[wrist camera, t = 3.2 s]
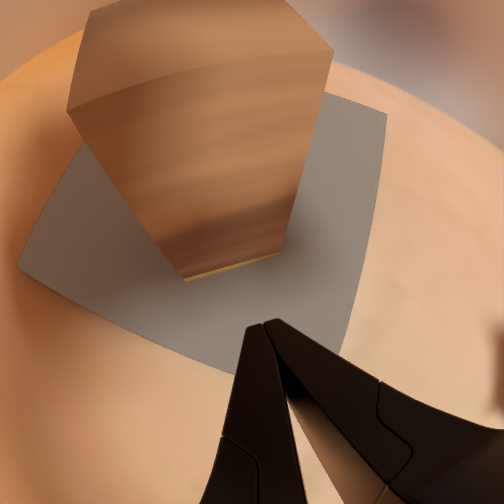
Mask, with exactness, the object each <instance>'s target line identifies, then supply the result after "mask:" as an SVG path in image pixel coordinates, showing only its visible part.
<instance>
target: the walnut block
mask: <svg viewBox="0 0 504 504" xmlns="http://www.w3.org/2000/svg"><path fill="white" fill-rule="evenodd" d="M333 53H334V50H333V49H332V48H331V47H330V46H329V45H328V44H327V42H326V41H325V40H324V39H323V38H322V37H321V36H320V35H319V34H318V33H317V32H316V31H315V30H314V29H313V28H312V27H311V26H310V25H309V24H308V23H307V22H306V21H305V20H304V19H303V18H302V17H301V16H300V15H299V14H298V13H297V12H296V11H295V10H294V9H293V8H292V7H291V6H290V5H289V4H288V3H287V2H286V1H285V0H121V1H118V2H116V3H112V4H110V5H107V6H104V7H101V8H99V9H96V10H93V11H91V12H90V15H89V18H88V21H87V24H86V27H85V31H84V34H83V38H82V41H81V45H80V49H79V52H78V56H77V61H76V65H75V69H74V74H73V78H72V83H71V88H70V94H69V99H68V105H67V113H68V114H69V116H70V118H71V119H72V121H73V122H74V124H75V126H76V127H77V129H78V131H79V132H80V134H81V135H82V137H83V139H84V140H85V142H86V143H87V145H88V146H89V148H90V150H91V151H92V153H93V154H94V156H95V157H96V159H97V160H98V162H99V163H100V165H101V166H102V168H103V169H104V171H105V172H106V174H107V175H108V177H109V178H110V180H111V181H112V183H113V184H114V186H115V187H116V189H117V190H118V191H119V193H120V194H121V196H122V197H123V199H124V200H125V202H126V203H127V204H128V206H129V207H130V209H131V210H132V211H133V213H134V214H135V216H136V217H137V218H138V220H139V221H140V223H141V224H142V225H143V227H144V228H145V229H146V231H147V232H148V234H149V235H150V236H151V238H152V239H153V240H154V242H155V243H156V244H157V246H158V247H159V248H160V250H161V251H162V252H163V254H164V255H165V256H166V258H167V259H168V260H169V262H170V263H171V264H172V265H173V267H174V268H175V269H176V271H177V272H178V273H179V274H180V276H181V277H182V278H183V280H184V281H185V282H187V281H191V280H195V279H198V278H202V277H205V276H209V275H212V274H216V273H219V272H223V271H226V270H230V269H233V268H237V267H241V266H244V265H248V264H251V263H255V262H258V261H262V260H265V259H268V258H272V257H275V256H279V253H280V250H281V247H282V243H283V240H284V236H285V233H286V229H287V226H288V222H289V219H290V215H291V212H292V208H293V205H294V201H295V198H296V194H297V191H298V187H299V183H300V180H301V176H302V173H303V169H304V165H305V162H306V158H307V154H308V150H309V147H310V143H311V139H312V135H313V132H314V128H315V124H316V120H317V116H318V113H319V109H320V105H321V101H322V97H323V93H324V89H325V85H326V81H327V77H328V73H329V69H330V65H331V61H332V57H333Z"/></svg>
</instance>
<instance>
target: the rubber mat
mask: <svg viewBox="0 0 504 504" xmlns="http://www.w3.org/2000/svg"><path fill="white" fill-rule="evenodd" d="M386 121H387V114H385V113H383V112H380V111H378V110H375V109H372V108H370V107H367V106H364V105H362V104H359V103H356V102H353V101H351V100H348V99H345V98H342V97H339V96H336V95H333V94H330V93H326V92H324V93H323V97H322V101H321V105H320V109H319V113H318V116H317V120H316V124H315V128H314V132H313V135H312V139H311V143H310V147H309V150H308V154H307V158H306V162H305V165H304V169H303V173H302V176H301V180H300V183H299V187H298V191H297V194H296V198H295V201H294V205H293V208H292V212H291V215H290V219H289V222H288V226H287V229H286V233H285V236H284V240H283V243H282V247H281V250H280V253H279V256H275V257H272V258H268V259H265V260H262V261H258V262H255V263H251V264H248V265H244V266H241V267H237V268H233V269H230V270H226V271H223V272H219V273H216V274H212V275H209V276H205V277H202V278H198V279H195V280H191V281H187V282H185V281H184V280H183V278H182V277H181V276H180V274H179V273H178V272H177V271H176V269H175V268H174V267H173V265H172V264H171V263H170V262H169V260H168V259H167V258H166V256H165V255H164V254H163V252H162V251H161V250H160V248H159V247H158V246H157V244H156V243H155V242H154V240H153V239H152V238H151V236H150V235H149V234H148V232H147V231H146V229H145V228H144V227H143V225H142V224H141V223H140V221H139V220H138V218H137V217H136V216H135V214H134V213H133V211H132V210H131V209H130V207H129V206H128V204H127V203H126V202H125V200H124V199H123V197H122V196H121V194H120V193H119V191H118V190H117V189H116V187H115V186H114V184H113V183H112V181H111V180H110V178H109V177H108V175H107V174H106V172H105V171H104V169H103V168H102V166H101V165H100V163H99V162H98V160H97V159H96V157H95V156H94V154H93V153H92V151H91V150H90V148H89V146H88V145H87V143H86V142H84V144H83V145H82V147H81V148H80V150H79V151H78V153H77V154H76V156H75V157H74V159H73V160H72V162H71V163H70V165H69V166H68V168H67V169H66V171H65V173H64V174H63V176H62V177H61V179H60V181H59V182H58V184H57V186H56V187H55V189H54V191H53V193H52V194H51V196H50V198H49V200H48V201H47V203H46V205H45V207H44V209H43V211H42V212H41V214H40V216H39V218H38V220H37V222H36V224H35V226H34V228H33V230H32V232H31V234H30V236H29V238H28V240H27V242H26V245H25V247H24V249H23V251H22V253H21V256H20V258H19V260H18V263H17V265H16V267H17V268H18V269H20V270H21V271H23V272H25V273H26V274H28V275H29V276H31V277H32V278H34V279H36V280H37V281H39V282H40V283H42V284H44V285H45V286H47V287H49V288H50V289H52V290H54V291H55V292H57V293H59V294H60V295H62V296H64V297H66V298H67V299H69V300H71V301H73V302H74V303H76V304H78V305H80V306H82V307H83V308H85V309H87V310H89V311H91V312H93V313H95V314H96V315H98V316H100V317H102V318H104V319H106V320H108V321H110V322H112V323H114V324H116V325H118V326H120V327H122V328H124V329H126V330H128V331H130V332H132V333H134V334H136V335H139V336H141V337H143V338H145V339H147V340H149V341H152V342H154V343H156V344H158V345H160V346H163V347H165V348H167V349H170V350H172V351H174V352H177V353H179V354H181V355H184V356H186V357H189V358H191V359H194V360H196V361H199V362H201V363H204V364H206V365H209V366H211V367H214V368H217V369H219V370H222V371H225V372H227V373H230V374H233V375H235V373H236V369H237V365H238V360H239V356H240V351H241V347H242V342H243V338H244V334H245V329H246V328H247V327H248V326H251V325H255V324H258V323H261V324H263V323H264V322H265V321H268V320H271V319H274V318H280V319H281V320H283V321H284V322H286V323H287V324H289V325H291V326H292V327H294V328H295V329H297V330H299V331H300V332H302V333H303V334H305V335H306V336H308V337H310V338H311V339H313V340H314V341H316V342H318V343H319V344H321V345H322V346H324V347H326V348H327V349H329V350H331V351H332V352H334V353H335V354H337V355H339V352H340V349H341V346H342V343H343V339H344V336H345V333H346V329H347V326H348V322H349V318H350V315H351V311H352V307H353V304H354V300H355V296H356V292H357V288H358V284H359V280H360V276H361V272H362V267H363V263H364V259H365V254H366V249H367V245H368V240H369V235H370V230H371V225H372V220H373V214H374V209H375V203H376V197H377V191H378V185H379V178H380V171H381V164H382V156H383V149H384V140H385V131H386Z"/></svg>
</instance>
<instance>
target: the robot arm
mask: <svg viewBox="0 0 504 504" xmlns="http://www.w3.org/2000/svg"><path fill="white" fill-rule="evenodd" d="M287 401H288V403H289V405H290V407H291V409H292V411H293V413H294V415H295V417H296V418H297V420H298V422H299V424H300V426H301V428H302V430H303V431H304V433H305V435H306V437H307V439H308V440H309V442H310V444H311V446H312V448H313V450H314V451H315V453H316V455H317V457H318V458H319V460H320V462H321V464H322V466H323V467H324V469H325V471H326V473H327V474H328V476H329V478H330V480H331V481H332V483H333V485H334V487H335V488H336V490H337V492H338V493H339V495H340V497H341V499H342V500H343V502H344V504H504V429H494V428H489V427H485V426H482V425H479V424H476V423H473V422H470V421H468V420H465V419H462V418H459V417H457V416H454V415H452V414H449V413H446V412H444V411H441V410H439V409H436V408H434V407H431V406H429V405H427V404H424V403H422V402H420V401H418V400H415V399H413V398H411V397H409V396H408V395H406V394H404V393H402V392H400V391H398V390H396V389H394V388H393V387H391V386H389V385H387V384H386V383H384V382H382V381H381V382H379V379H377V378H375V377H374V376H372V375H370V374H369V373H367V372H365V371H364V370H362V369H360V368H359V367H357V366H355V365H354V364H352V363H350V362H349V361H347V360H345V359H344V358H342V357H340V356H339V355H337V354H335V353H334V352H332V351H331V350H329V349H327V348H326V347H324V346H322V345H321V344H319V343H318V342H316V341H314V340H313V339H311V338H310V337H308V336H306V335H305V334H303V333H302V332H300V331H299V330H297V329H295V328H294V327H292V326H291V325H289V324H287V323H286V322H284V321H283V320H281V319H280V318H274V319H271V320H268V321H265V322H264V323H263V324H261V323H258V324H255V325H251V326H248V327H247V328H246V329H245V334H244V338H243V342H242V347H241V351H240V356H239V360H238V365H237V369H236V373H235V378H234V382H233V386H232V391H231V395H230V400H229V404H228V408H227V412H226V417H225V421H224V425H223V430H222V437H221V438H220V442H219V446H218V450H217V454H216V458H215V461H214V465H213V468H212V472H211V475H210V477H209V480H208V483H207V486H206V488H205V491H204V494H203V496H202V498H201V501H200V503H199V504H308V499H307V495H306V490H305V485H304V480H303V475H302V471H301V466H300V461H299V456H298V451H297V447H296V442H295V437H294V432H293V428H292V423H291V418H290V413H289V409H288V404H287Z"/></svg>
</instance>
